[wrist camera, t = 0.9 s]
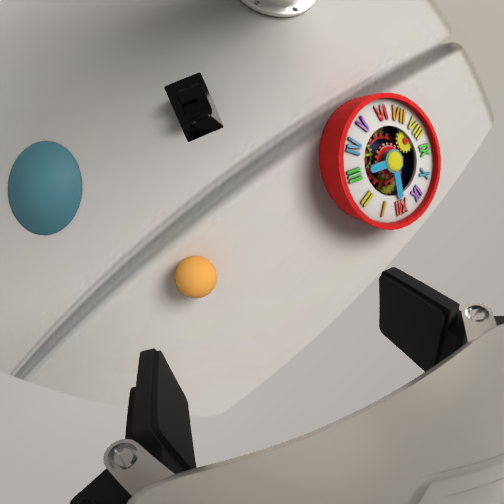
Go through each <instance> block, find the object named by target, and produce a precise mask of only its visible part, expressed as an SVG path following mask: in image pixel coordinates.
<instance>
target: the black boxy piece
mask: <svg viewBox="0 0 504 504" xmlns="http://www.w3.org/2000/svg"><path fill="white" fill-rule="evenodd" d="M164 88H165V90H166V93H167V95H168V97H169V100H170V102H171V104H172V106H173V109H174V111H175V113H176V116H177V118H178V120H179V123H180V125H181V127H182V129H183V132H184V134H185V136H186V139H187V141H188V142H190V141H192V140H195V139H197V138H199V137H201V136H204V135H206V134H208V133H211V132H213V131H216V130H218V129H220V128H223V124H222V121H221V119H220V117H219V114H218V112H217V110H216V107H215V105H214V103H213V100H212V98H211V96H210V94H209V91H208V89H207V87H206V84H205V82H204V80H203V78H202V75H201V73H197V74H194V75H192V76H189V77H186V78H184V79H182V80H179V81H177V82H174V83H172V84H170V85H167V86H165V87H164Z"/></svg>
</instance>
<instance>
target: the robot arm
mask: <svg viewBox="0 0 504 504" xmlns="http://www.w3.org/2000/svg"><path fill="white" fill-rule="evenodd" d="M241 1H242V2H243V3H245V4H246V5H247V6H249V7H250V8H252V9H254V10H256V11H258V12H260V13H263V14H266V15H270V16H276V17H292V16H297V15H300V14H302V13H304V12H306V11H307V10H308V9H309V8H311V6H312V5H313V4H314V3H315V1H316V0H241ZM255 4H256V5H255ZM379 293H380V320H379V322H380V323H379V327H380V330H381V332H382V333H383V334H384V335H385V336H386V337H387V338H388V339H389V340H391V341H392V342H393V343H394V344H395V345H396V346H397V347H398V348H399V349H401V350H402V351H403V352H404V353H405V354H406V355H407V356H408V357H410V358H411V359H412V360H413V361H414V362H415V363H416V364H417V365H418V366H419V367H421V368H422V369H423V370H424V371H425V373H423V374H422V375H420V376H419V377H417V378H415V379H414V380H412V381H410V382H409V383H407V384H406V385H404V386H402V387H401V388H399V389H397V390H395V391H394V392H392V393H390V394H388V395H387V396H385V397H383V398H381V399H379V400H378V401H376V402H374V403H372V404H370V405H368V406H366V407H365V408H362V409H360V410H358V411H356V412H354V413H352V414H350V415H348V416H346V417H344V418H342V419H340V420H338V421H335V422H333V423H331V424H329V425H326V426H324V427H321V428H319V429H317V430H315V431H312V432H309V433H307V434H304V435H302V436H299V437H297V438H294V439H292V440H289V441H286V442H283V443H280V444H277V445H274V446H271V447H269V448H266V449H262V450H259V451H256V452H253V453H250V454H246V455H243V456H240V457H236V458H233V459H229V460H225V461H221V462H218V463H214V464H210V465H206V466H202V467H198V468H196V463H195V456H194V449H193V441H192V434H191V426H190V417H189V408H188V402H187V399H186V397H185V395H184V393H183V391H182V389H181V388H180V386H179V384H178V382H177V380H176V379H175V377H174V375H173V373H172V371H171V369H170V367H169V365H168V363H167V361H166V359H165V357H164V355H163V354H162V352H161V351H156V349H154V348H153V349H150V350H146V351H142V352H140V358H139V365H138V373H137V382H136V387H132V388H131V390H130V396H129V405H128V414H127V424H126V435H125V439H122V440H119V441H116V442H114V443H113V444H111V445H110V447H108V448H107V450H106V452H105V454H104V464H105V466H106V468H107V469H105V470H104V471H103V472H102V473H101V474H100V475H99V476H98V477H96V478H95V479H94V480H93V481H92V482H91V483H90V484H89V485H87V486H86V488H84V489H83V490H82V491H81V492H80V493H78V494H77V495H76V496H75V497H74V498H73V499H72V500H71V502H70V504H504V316H493V313H492V311H491V309H490V308H488V307H487V306H485V305H483V304H479V303H472V304H468V305H466V306H465V307H464V308H463V309H462V312H461V311H460V310H459V304H458V303H457V302H455V301H453V300H452V299H450V298H448V297H446V296H445V295H443V294H441V293H440V292H438V291H436V290H435V289H433V288H431V287H429V286H427V285H426V284H424V283H422V282H421V281H419V280H417V279H415V278H413V277H412V276H410V275H408V274H406V273H405V272H403V271H401V270H399V269H397V268H395V267H392V268H390V269H388V270H385V271H383V272H382V274H381V276H380V278H379Z"/></svg>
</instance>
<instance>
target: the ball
mask: <svg viewBox="0 0 504 504" xmlns="http://www.w3.org/2000/svg"><path fill="white" fill-rule="evenodd" d="M175 281H176V285H177V287H178V289H179V290H180V291H181V292H182V293H183V294H184V295H186V296H188V297H191V298H201V297H204V296H206V295H208V294H209V293H210V292H211V291H212V290H213V289H214V287H215V285H216V281H217V273H216V269H215V267H214V265H213V264H212V263H211V262H210V261H209V260H208V259H206V258H204V257H201V256H191V257H188V258H186V259H184V260H183V261H182V262H181V263H180V264H179V265H178V267H177V269H176V272H175Z"/></svg>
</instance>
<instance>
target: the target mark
mask: <svg viewBox="0 0 504 504" xmlns="http://www.w3.org/2000/svg"><path fill="white" fill-rule="evenodd" d="M81 195H82V179H81V174H80V170H79V167H78V165H77V162H76V160H75V159H74V157H73V156H72V154H71V153H70V152H69V151H68V150H67V149H66V148H64V147H63V146H61V145H59V144H57V143H54V142H47V141H45V142H39V143H35V144H33V145H31V146H29V147H28V148H26V149H25V150H24V151H23V152H22V153H21V154H20V155H19V156H18V158H17V159H16V161H15V163H14V165H13V167H12V169H11V172H10V176H9V181H8V197H9V203H10V206H11V209H12V211H13V214H14V216H15V217H16V219H17V220H18V221H19V223H20V224H21V225H22V226H23V227H24V228H26V229H27V230H29V231H31V232H33V233H36V234H40V235H48V234H53V233H56V232H58V231H60V230H61V229H63V228H64V227H65V226H67V225H68V224H69V223H70V221H71V220H72V219H73V217H74V216H75V214H76V212H77V210H78V207H79V204H80V200H81Z"/></svg>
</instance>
